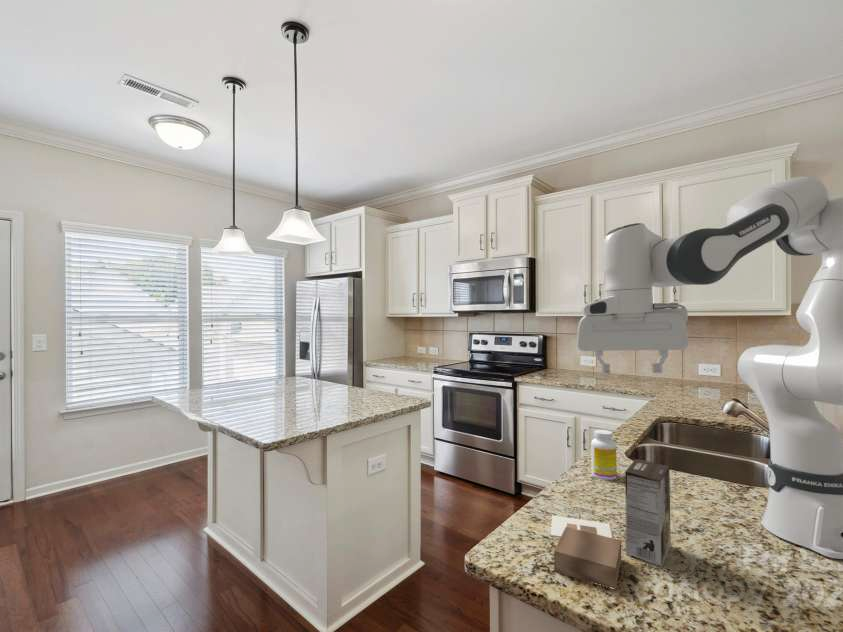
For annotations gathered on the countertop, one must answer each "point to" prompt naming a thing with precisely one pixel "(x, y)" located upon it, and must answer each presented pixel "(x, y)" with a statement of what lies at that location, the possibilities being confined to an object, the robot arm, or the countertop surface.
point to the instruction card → (578, 526)
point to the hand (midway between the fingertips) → (631, 372)
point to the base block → (588, 557)
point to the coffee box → (648, 511)
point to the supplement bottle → (603, 456)
